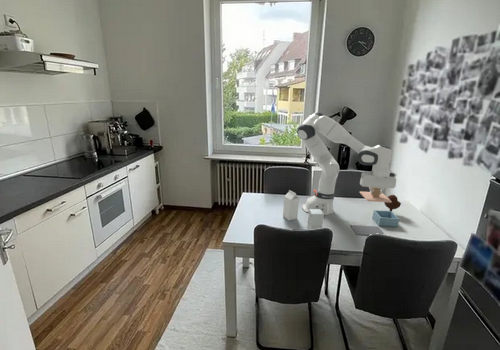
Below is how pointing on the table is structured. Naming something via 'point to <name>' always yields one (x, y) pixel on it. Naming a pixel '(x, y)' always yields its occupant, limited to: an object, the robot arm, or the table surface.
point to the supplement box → (315, 219)
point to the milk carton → (290, 206)
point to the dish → (385, 218)
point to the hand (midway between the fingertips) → (375, 193)
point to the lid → (375, 196)
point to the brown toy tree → (393, 203)
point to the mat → (366, 230)
